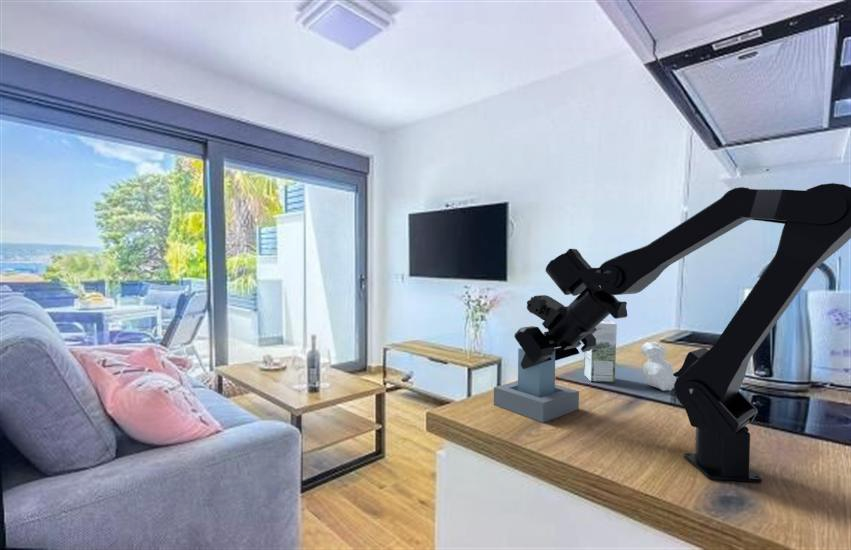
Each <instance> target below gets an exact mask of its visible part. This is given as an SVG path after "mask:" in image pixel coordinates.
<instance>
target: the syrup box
mask: <svg viewBox="0 0 851 550" xmlns="http://www.w3.org/2000/svg"><path fill="white" fill-rule="evenodd" d="M595 328H596V329H597V331H595V332H594V333H593V336H594V337H595V338H596V346H594V347H593V348H592V349H591V350H590V351H586V352H584V357H583V358H584V364H583V376H584V377H585V376H586V377H587V378H588V379H587V378H586V377H585V378H586V379H587V380H588V381H590V382H591V381H594V383H595V382H596V383H615V381H616V357H617V356H616V355H617V329H618V325H617V323H615V322H614V321H613V320H610V319H609V320H608V319H607V320H606V319H604V320H603V321H602V322H600V323H599V324H598V325H597V326H596V327H595Z"/></svg>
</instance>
